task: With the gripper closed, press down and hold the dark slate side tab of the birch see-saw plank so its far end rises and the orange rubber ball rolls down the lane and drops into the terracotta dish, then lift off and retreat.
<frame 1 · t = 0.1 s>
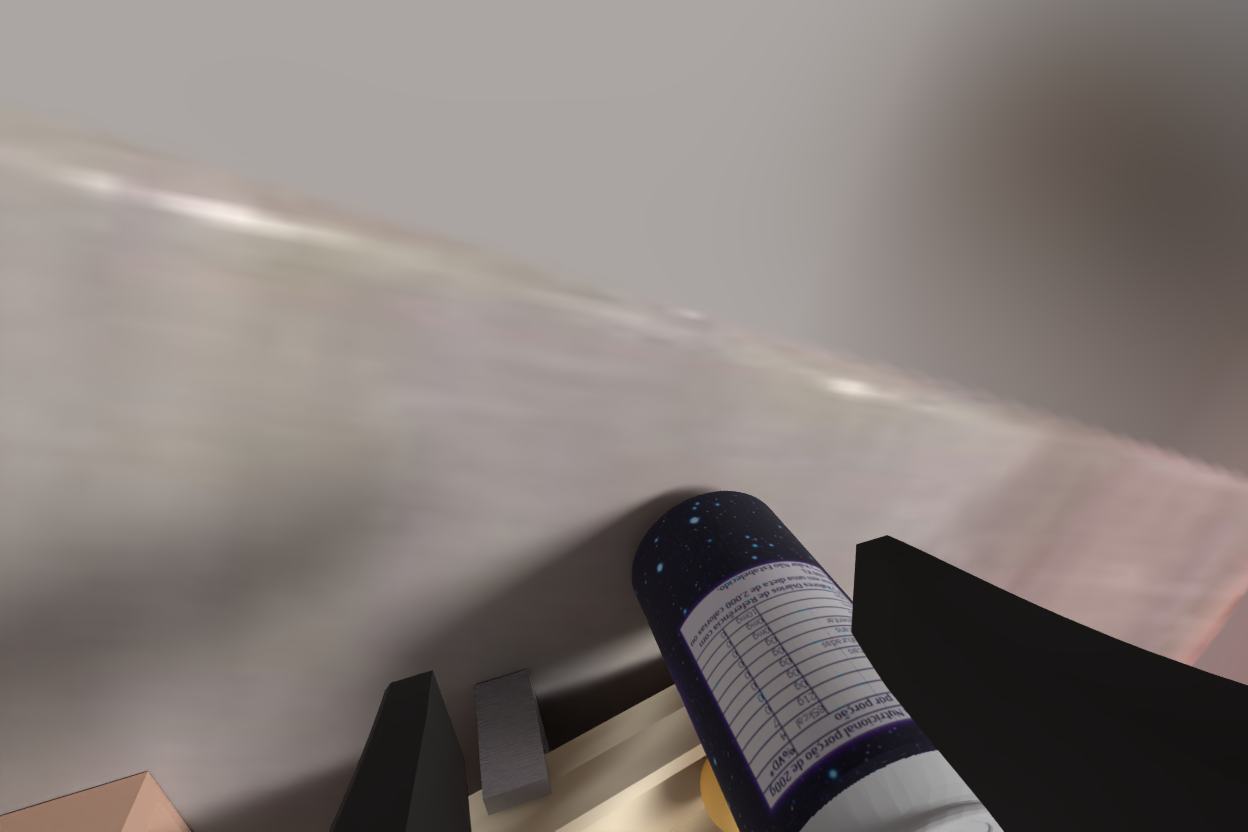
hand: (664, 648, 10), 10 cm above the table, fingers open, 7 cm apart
fulcrum: (525, 757, 25), on the table
ball: (744, 786, 23), point 4 cm above the table, tilted 21°, touching lever
beverage can: (696, 542, 23), on the table
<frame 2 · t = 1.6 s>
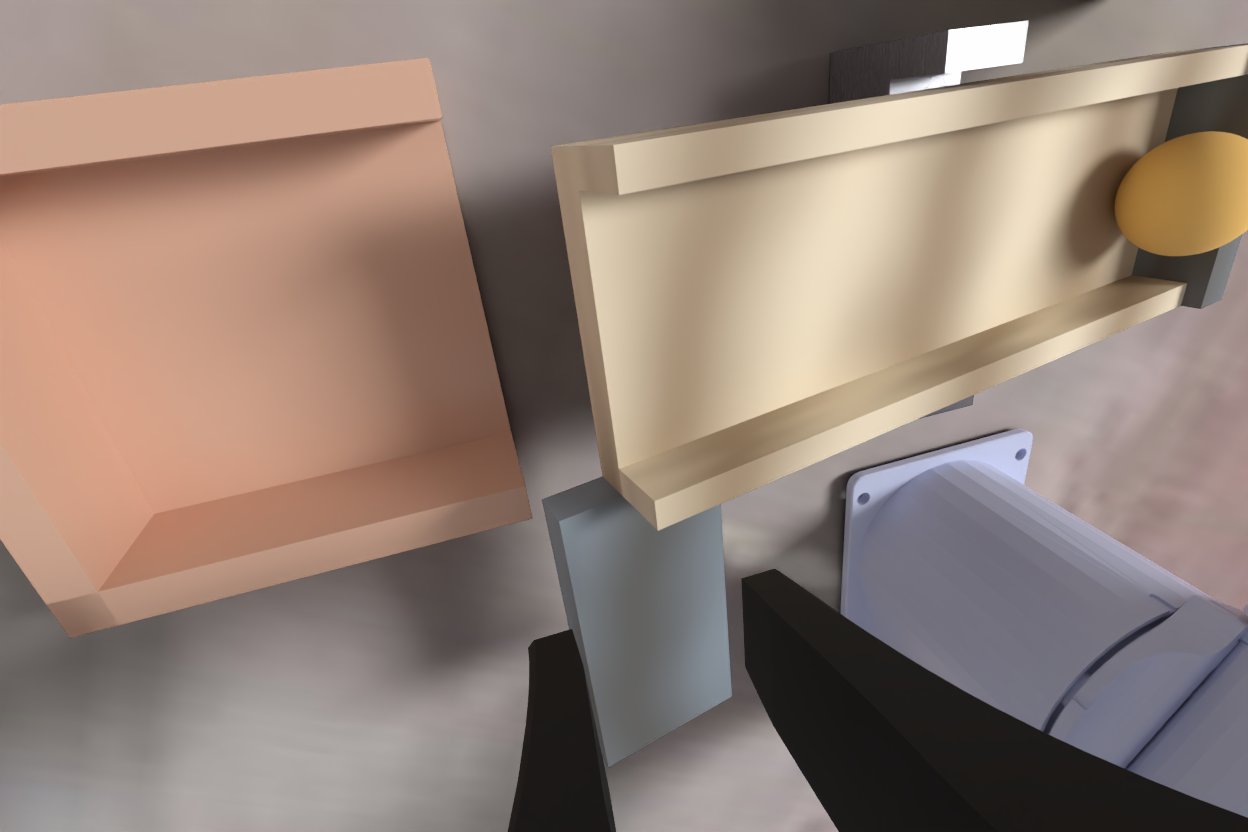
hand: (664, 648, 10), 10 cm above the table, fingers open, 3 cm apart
fulcrum: (855, 221, 19), on the table
ball: (1189, 195, 17), point 4 cm above the table, tilted 21°, touching lever
tray: (291, 325, 16), on the table
lever: (936, 399, 17), point 5 cm above the table, hinge at -12.0°, touching ball
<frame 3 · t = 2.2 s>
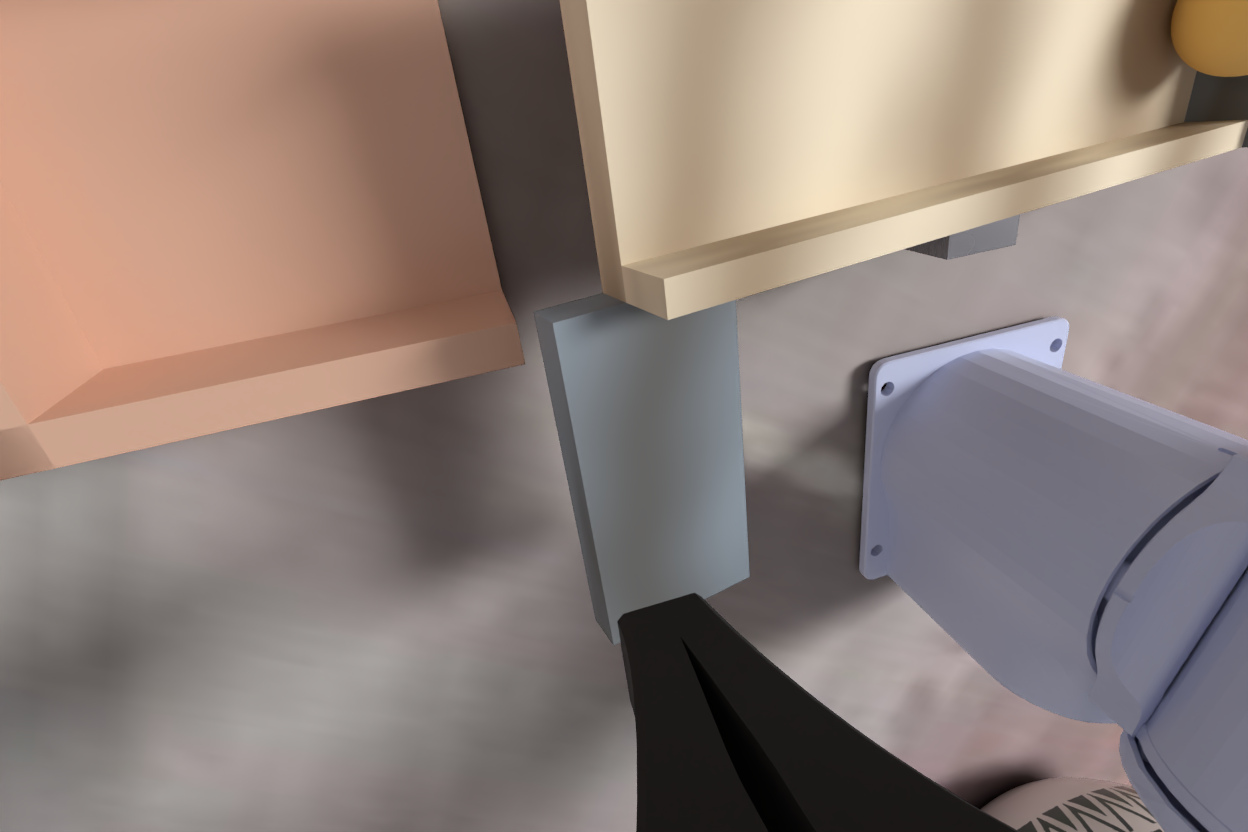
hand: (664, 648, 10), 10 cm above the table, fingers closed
planter: (996, 816, 38), on the table
fulcrum: (879, 58, 17), on the table
tray: (251, 148, 14), on the table
lever: (977, 231, 15), point 5 cm above the table, hinge at -12.0°, touching ball
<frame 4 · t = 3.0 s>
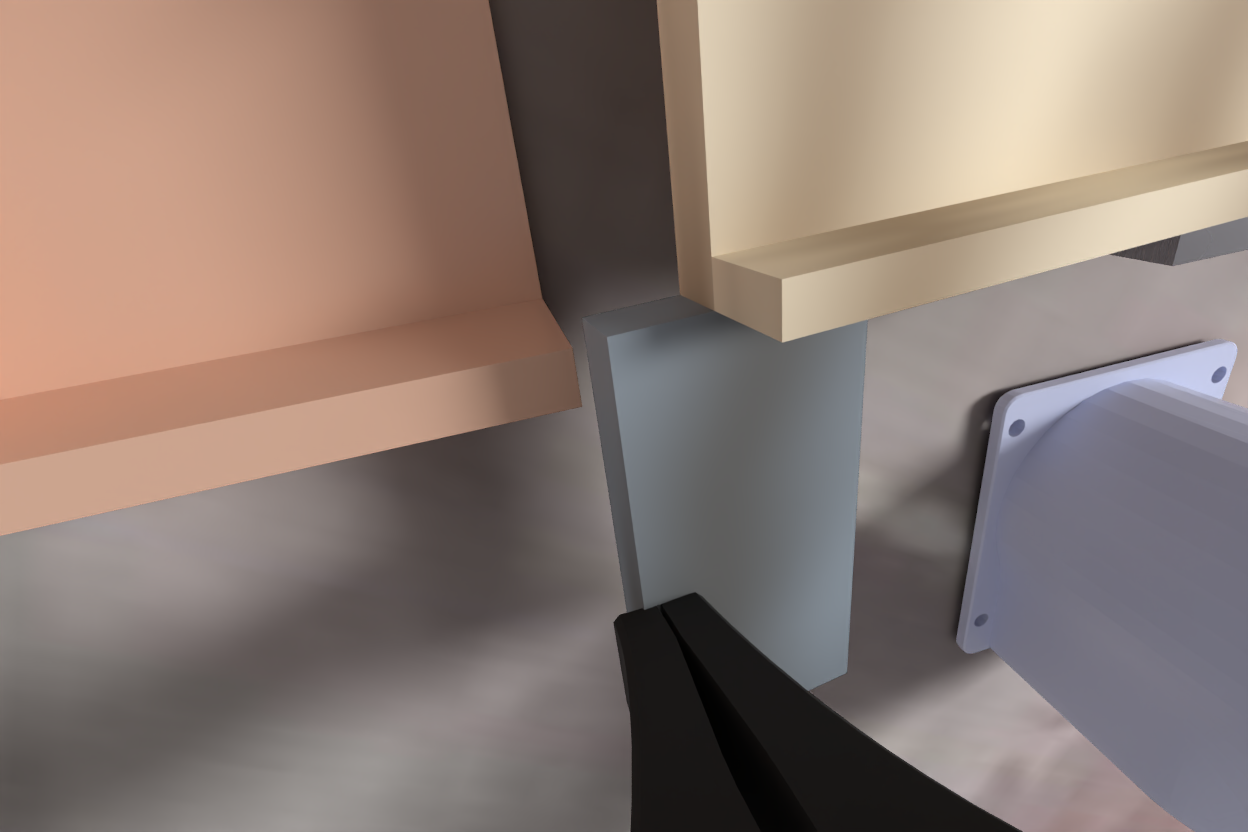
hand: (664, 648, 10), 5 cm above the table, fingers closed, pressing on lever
tray: (195, 91, 10), on the table
lever: (1213, 228, 10), point 5 cm above the table, hinge at -6.6°, touching ball, gripper
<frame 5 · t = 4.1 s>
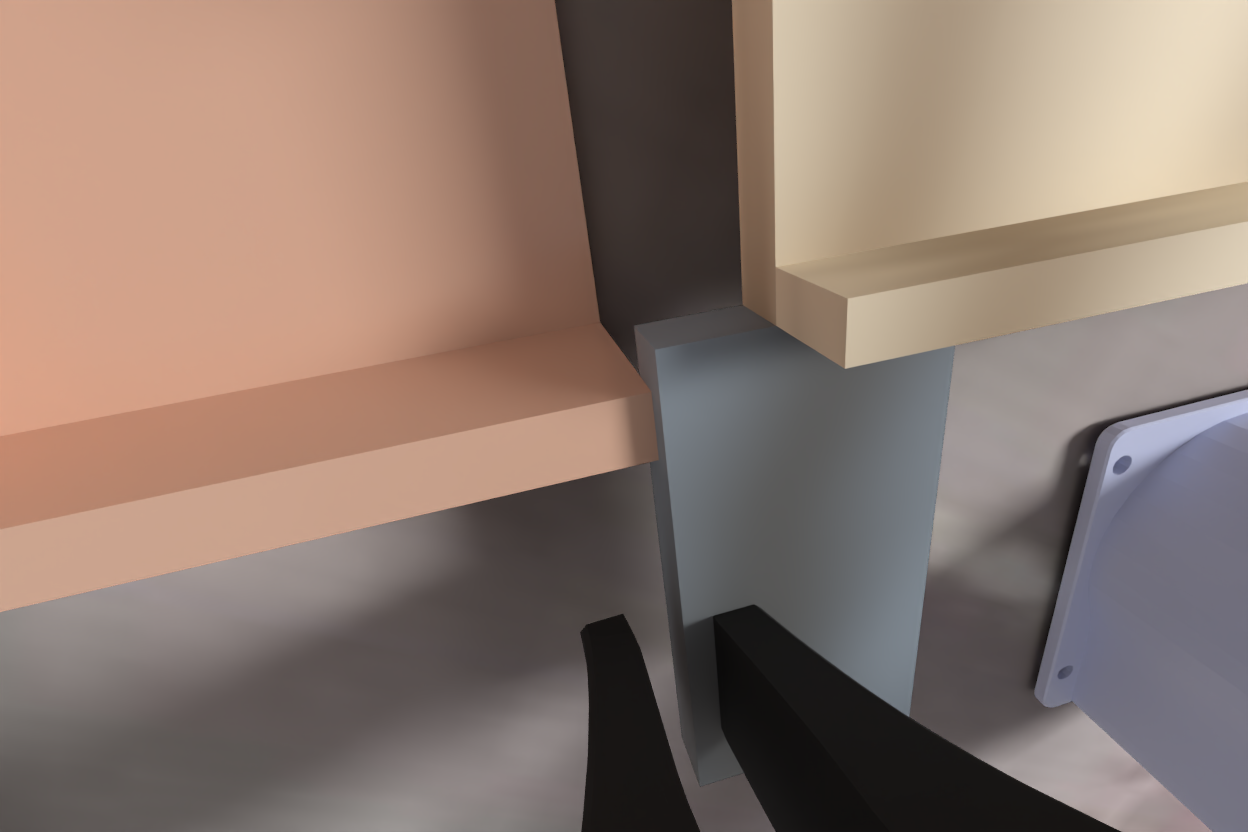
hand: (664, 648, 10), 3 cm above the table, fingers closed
tray: (202, 80, 8), on the table
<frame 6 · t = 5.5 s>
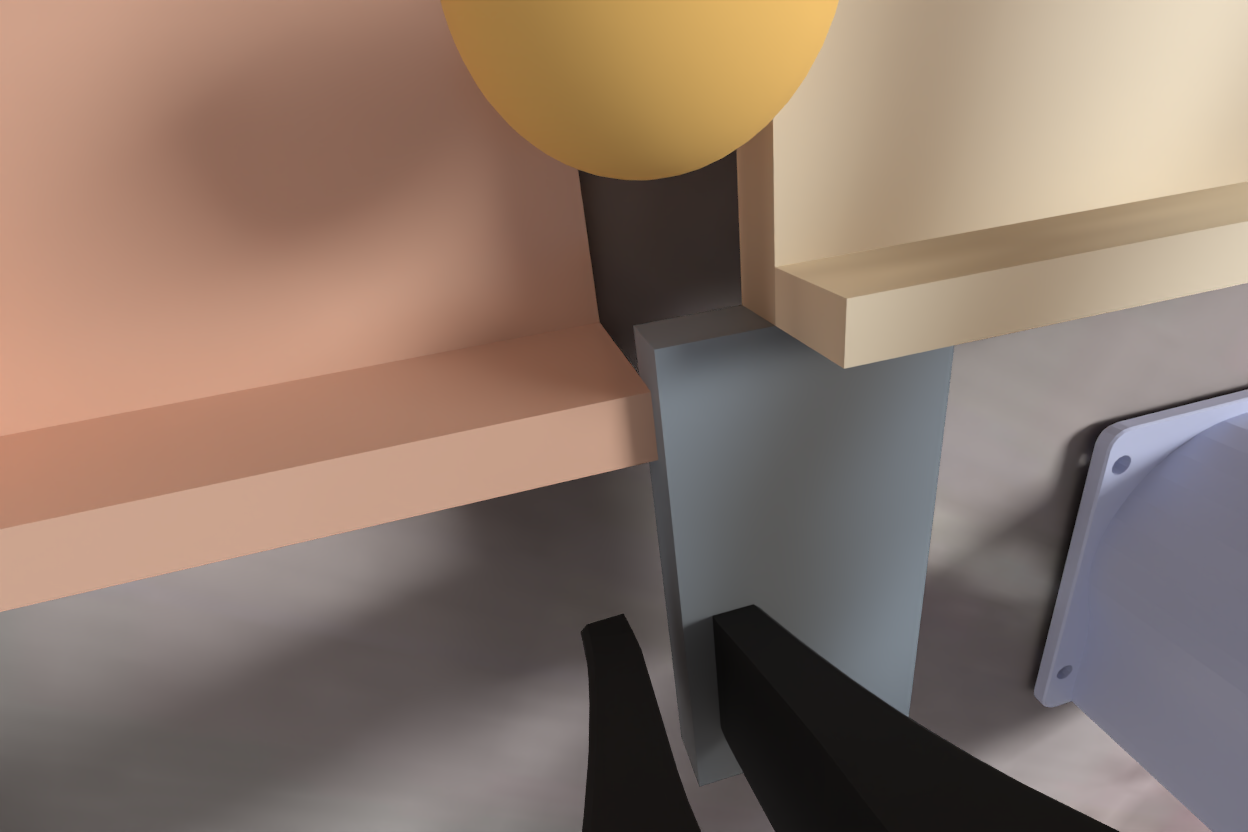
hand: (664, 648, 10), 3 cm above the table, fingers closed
tray: (202, 81, 8), on the table
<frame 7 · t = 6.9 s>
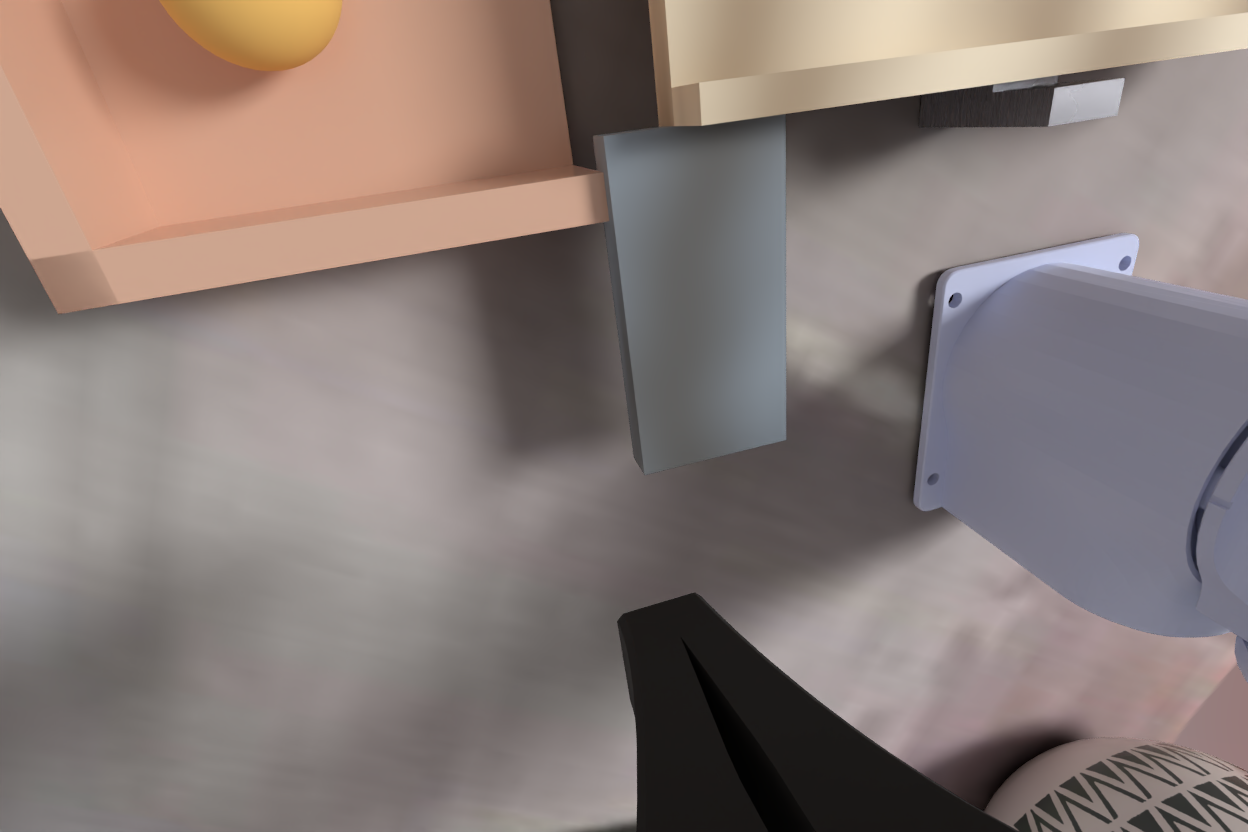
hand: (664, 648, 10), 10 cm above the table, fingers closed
planter: (1030, 780, 37), on the table
lever: (1065, 96, 14), point 4 cm above the table, hinge at 0.5°, touching tray
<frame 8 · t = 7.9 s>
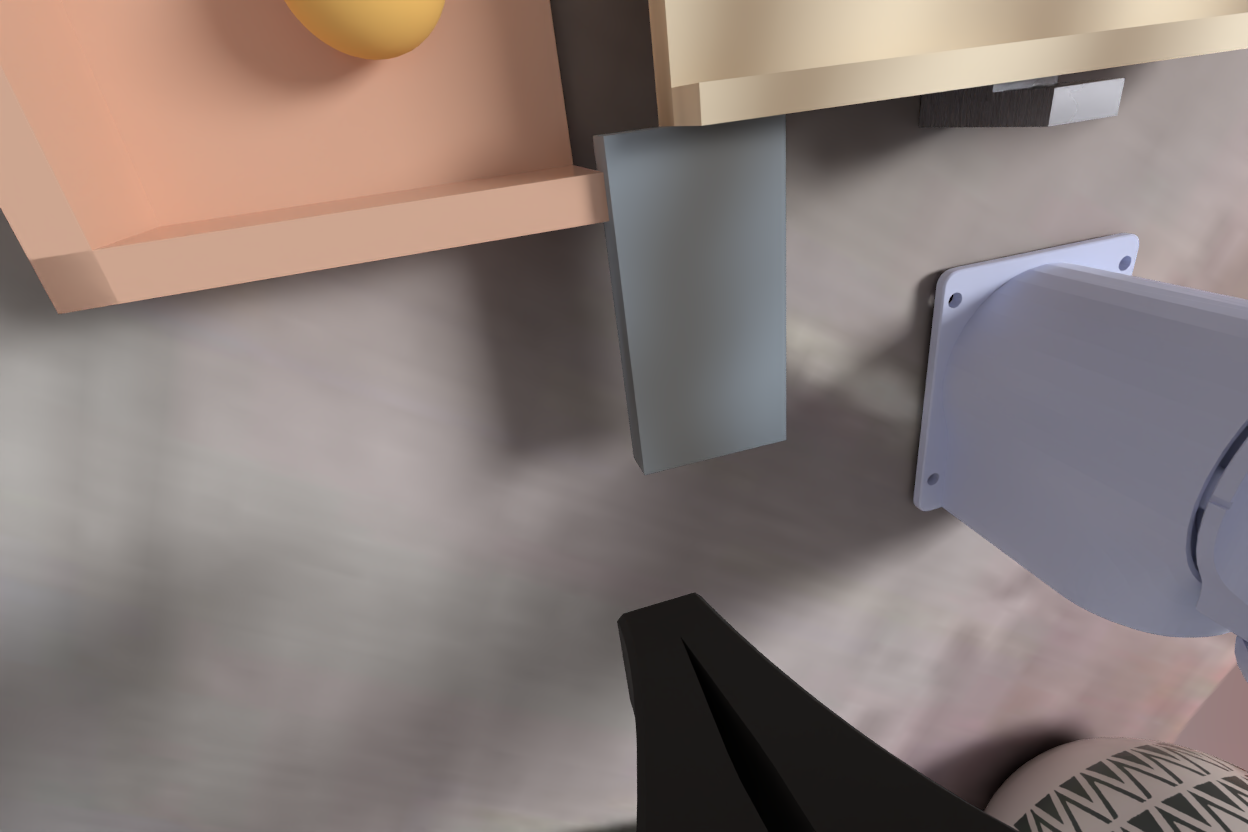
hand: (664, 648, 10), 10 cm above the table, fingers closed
planter: (1030, 780, 37), on the table
lever: (1065, 96, 14), point 4 cm above the table, hinge at 0.5°, touching tray
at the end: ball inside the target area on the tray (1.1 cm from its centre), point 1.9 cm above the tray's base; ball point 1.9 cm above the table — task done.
